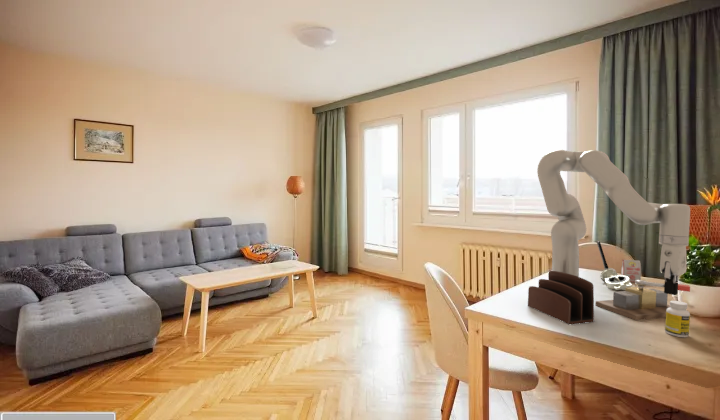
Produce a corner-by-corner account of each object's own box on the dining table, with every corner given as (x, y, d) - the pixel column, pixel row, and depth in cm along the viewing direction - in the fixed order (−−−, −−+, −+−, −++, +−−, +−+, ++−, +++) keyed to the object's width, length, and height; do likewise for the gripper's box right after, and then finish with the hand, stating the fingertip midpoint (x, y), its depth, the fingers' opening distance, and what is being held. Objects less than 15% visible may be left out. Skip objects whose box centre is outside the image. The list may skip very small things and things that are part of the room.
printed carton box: (621, 279, 173) (621, 258, 173) (638, 280, 170) (639, 260, 170) (622, 281, 170) (623, 260, 169) (640, 282, 167) (641, 261, 166)
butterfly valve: (638, 292, 151) (620, 278, 167) (624, 247, 150) (607, 238, 166) (615, 296, 153) (599, 282, 170) (601, 253, 152) (587, 243, 169)
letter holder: (549, 304, 138) (550, 267, 137) (594, 322, 118) (595, 280, 118) (527, 306, 135) (528, 269, 134) (569, 325, 116) (570, 282, 115)
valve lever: (635, 285, 129) (635, 280, 129) (635, 283, 131) (635, 279, 131) (690, 291, 120) (690, 287, 120) (688, 289, 123) (688, 285, 123)
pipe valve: (627, 310, 125) (628, 289, 124) (611, 304, 131) (612, 284, 130) (669, 306, 128) (670, 286, 128) (651, 301, 135) (652, 281, 134)
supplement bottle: (682, 339, 105) (684, 306, 104) (661, 332, 110) (662, 301, 109) (692, 336, 107) (694, 303, 106) (671, 329, 112) (672, 298, 111)
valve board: (636, 320, 120) (636, 315, 120) (595, 305, 135) (595, 301, 135) (688, 315, 124) (688, 310, 124) (642, 301, 140) (643, 297, 140)
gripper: (681, 243, 113) (678, 300, 115) (694, 239, 122) (691, 292, 123) (651, 241, 120) (649, 294, 121) (666, 237, 128) (664, 287, 129)
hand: (670, 293), depth 122 cm, fingers closed
